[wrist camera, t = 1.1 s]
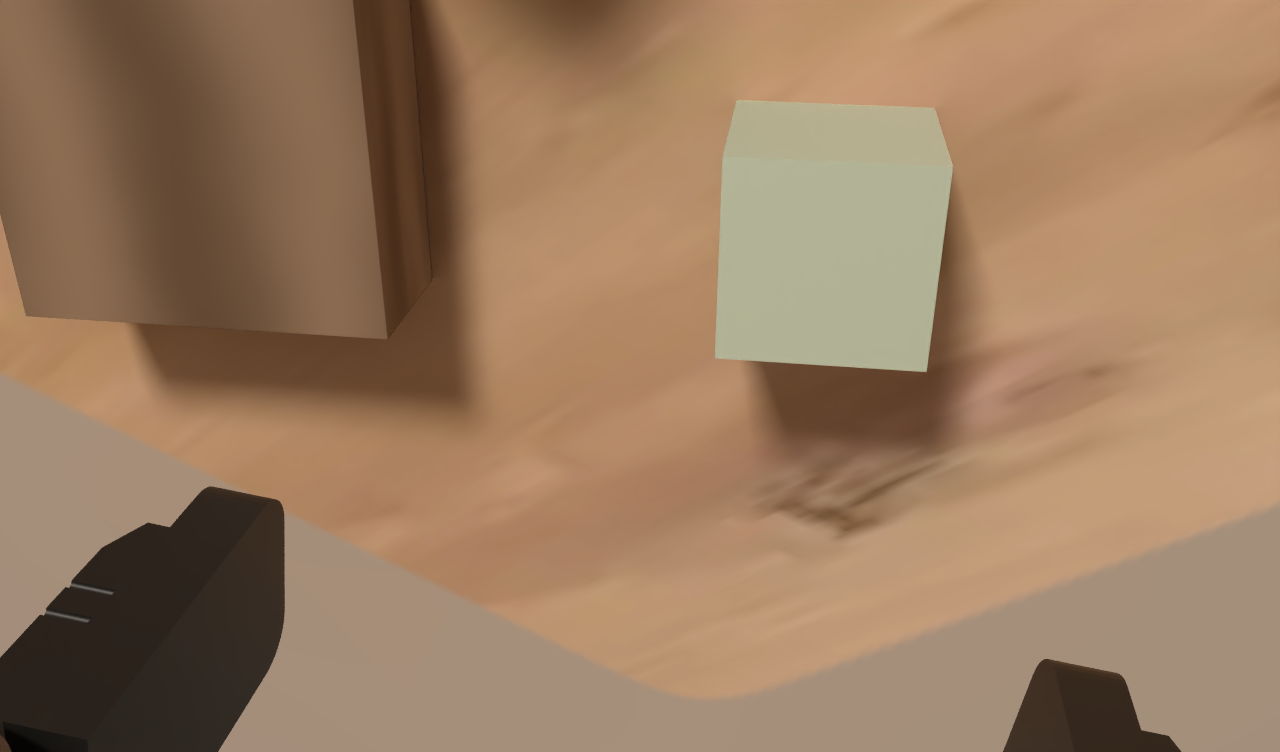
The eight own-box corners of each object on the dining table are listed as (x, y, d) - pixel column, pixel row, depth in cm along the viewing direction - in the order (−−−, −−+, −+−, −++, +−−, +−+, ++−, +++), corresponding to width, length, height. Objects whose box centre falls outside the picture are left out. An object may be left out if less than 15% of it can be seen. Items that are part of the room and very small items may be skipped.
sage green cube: (934, 106, 30) (953, 167, 26) (912, 289, 33) (926, 372, 28) (736, 99, 31) (722, 156, 27) (729, 278, 33) (715, 358, 29)
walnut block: (401, -93, 30) (345, -73, 26) (432, 279, 34) (387, 339, 31) (27, -101, 31) (-75, -82, 28) (105, 260, 36) (26, 316, 32)
